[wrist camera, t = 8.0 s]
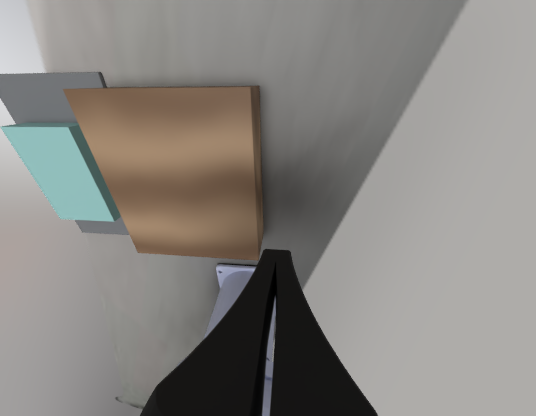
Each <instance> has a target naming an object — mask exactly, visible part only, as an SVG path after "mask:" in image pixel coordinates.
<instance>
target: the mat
mask: <svg viewBox="0 0 536 416" xmlns="http://www.w3.org/2000/svg"><path fill="white" fill-rule="evenodd" d="M78 88H106V85H105V82H104V80H103V77H102V74H101V73H100V72H91V73H37V74H36V73H33V74H0V98H1V100H2V101H3V103H4V105H5V106H6V108H7V110H8V111H9V113H10V115H11V116H12V118H13V120H14V121H15V123H16V124H21V123H78V122H77V119H76V117H75V115H74V113H73V111H72V109H71V106H70V104H69V102H68V100H67V98H66V96H65V93H64V91H63V89H78ZM75 221H76V223H77V224H78V226H79V228H80V229H81V231H82V232H86V233H104V234H122V235H130V234H129V232H128V230H127V228H126V226H125V223H124V221H123V219H122V217H120V218H118V219H117V220H116V221H115V222H111V221H91V220H75Z"/></svg>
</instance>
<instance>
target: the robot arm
mask: <svg viewBox="0 0 536 416" xmlns="http://www.w3.org/2000/svg"><path fill="white" fill-rule="evenodd" d="M216 271H217V276H218V281H219V286H220V292H219V295H218V298H217V301H216V304H215V307H214V310H213V313H212V315H211V318H210V321H209V324H208V327H207V330H206V333H205V336H204V339H203V341H202V342H201V343H200V344H199V345H198V346H197V347H196V348H195V349H194V350H193V351H192V352H191V353H190V354H189V356H187V357H186V358H185V359H184V360H182V361H181V362H180V363H179V364H178V365H177V367H176V368H175V369H174V370H173V371H172V372H171V373H170V374H169V375H168V376H167V377H165V378H164V379H163V380H162V381H161V382H160V383H159V384H158V385H157V386H156V388H155V389H154V391H153V393H152V394H151V396H150V398H149V400H148V401H147V403H146V405H145V407H144V409H143V411H142V413H141V415H140V416H378V415H377V413H376V411H375V410H374V408H373V407H372V406H371V404H370V403H369V401H368V400H367V399H366V397H365V396H364V395H363V393H362V392H361V390H360V389H359V388H358V386H357V385H356V383H355V382H354V381H353V379H352V378H351V376H350V375H349V373H348V372H347V370H346V369H345V367H344V366H343V364H342V363H341V361H340V360H339V358H338V356H337V355H336V353H335V352H334V350H333V348H332V347H331V345H330V344H329V342H328V341H327V339H326V337H325V335H324V334H323V332H322V330H321V328H320V326H319V325H318V323H317V321H316V319H315V317H314V315H313V313H312V311H311V309H310V307H309V305H308V303H307V301H306V298H305V296H304V294H303V291H302V289H301V286H300V284H299V281H298V278H297V275H296V273H295V269H294V266H293V262H292V257H291V252H290V251H289V250H273V249H265V250H264V251H263V253H262V256H261V258H260V261H259V263H258V265H257V267H253V266H238V265H223V264H218V265H217V267H216ZM275 316H276V334H275V349H274V362H272V350H273V337H274V322H275Z"/></svg>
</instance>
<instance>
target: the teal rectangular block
mask: <svg viewBox="0 0 536 416" xmlns="http://www.w3.org/2000/svg"><path fill="white" fill-rule="evenodd" d="M1 129H2V130H3V132H4V133H5V135H6V136H7V138H8V139H9V141H10V142H11V144H12V146H13V147H14V149H15V150H16V152H17V153H18V155H19V156H20V158H21V159H22V161H23V162H24V164H25V165H26V167H27V169H28V170H29V172H30V173H31V175H32V176H33V178H34V179H35V181H36V182H37V184H38V185H39V187H40V188H41V190H42V192H43V193H44V195H45V196H46V198H47V199H48V201H49V202H50V204H51V205H52V207H53V208H54V210H55V211H56V213H57V214H58V216H59V218H60V219H71V220H91V221H111V222H115V221H116V220H117V219H118V218H120V217H121V215H120V213H119V210H118V208H117V206H116V204H115V202H114V200H113V197H112V195H111V193H110V191H109V189H108V187H107V184H106V182H105V180H104V178H103V176H102V174H101V171H100V169H99V167H98V165H97V163H96V161H95V158H94V156H93V154H92V152H91V150H90V148H89V145H88V143H87V141H86V139H85V137H84V135H83V132H82V130H81V128H80V126H79V124H78V123H21V124H15V125H9V126H2V127H1Z"/></svg>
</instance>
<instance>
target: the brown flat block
mask: <svg viewBox="0 0 536 416" xmlns="http://www.w3.org/2000/svg"><path fill="white" fill-rule="evenodd" d="M63 91H64V93H65V96H66V98H67V100H68V102H69V104H70V106H71V109H72V111H73V113H74V115H75V117H76V119H77V122H78V124H79V126H80V128H81V130H82V132H83V135H84V137H85V139H86V141H87V143H88V145H89V148H90V150H91V152H92V154H93V156H94V158H95V161H96V163H97V165H98V167H99V169H100V171H101V174H102V176H103V178H104V180H105V182H106V184H107V187H108V189H109V191H110V193H111V195H112V197H113V200H114V202H115V204H116V206H117V208H118V210H119V213H120V215H121V217H122V219H123V221H124V223H125V226H126V228H127V230H128V232H129V234H130V236H131V239H132V241H133V243H134V245H135V247H136V249H137V252H138V253H149V254H165V255H181V256H197V257H212V258H228V259H244V260H259V255H260V250H261V244H262V239H263V201H262V165H261V129H260V93H259V86H207V87H110V88H78V89H63Z"/></svg>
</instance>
